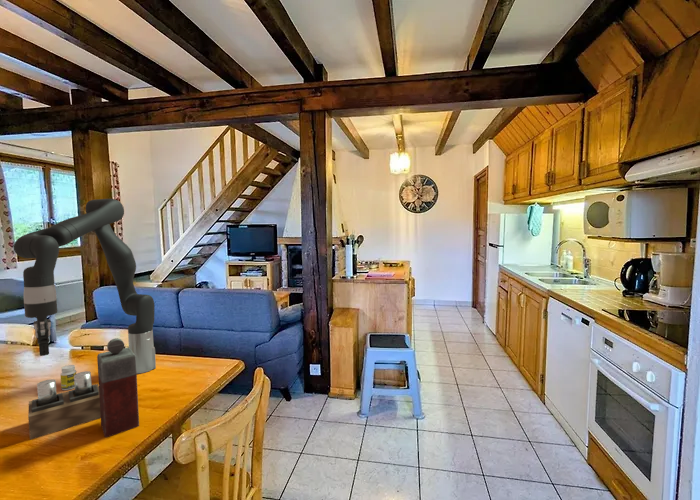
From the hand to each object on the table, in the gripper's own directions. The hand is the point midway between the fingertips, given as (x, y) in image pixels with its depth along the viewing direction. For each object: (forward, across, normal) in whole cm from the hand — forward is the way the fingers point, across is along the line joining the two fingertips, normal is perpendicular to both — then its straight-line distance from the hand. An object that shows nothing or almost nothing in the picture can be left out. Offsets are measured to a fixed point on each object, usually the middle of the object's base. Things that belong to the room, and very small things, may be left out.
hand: (44, 354), depth 108 cm
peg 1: (+16, 0, 0) cm, 16 cm away
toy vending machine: (+23, -14, -17) cm, 32 cm away
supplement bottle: (+23, +28, -6) cm, 37 cm away
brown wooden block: (+23, 0, -4) cm, 23 cm away
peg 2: (+16, 0, -9) cm, 18 cm away
